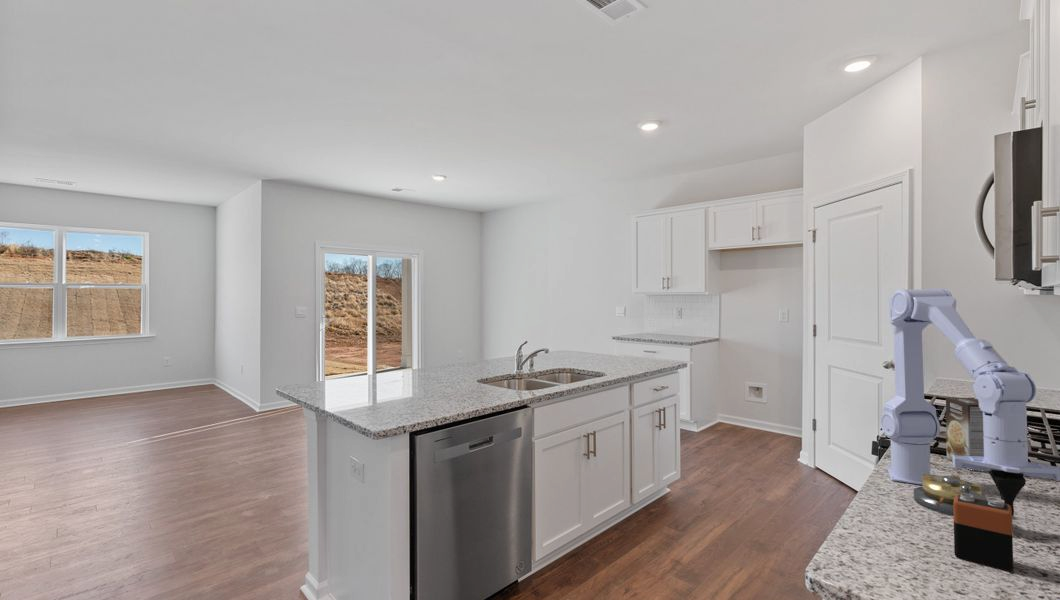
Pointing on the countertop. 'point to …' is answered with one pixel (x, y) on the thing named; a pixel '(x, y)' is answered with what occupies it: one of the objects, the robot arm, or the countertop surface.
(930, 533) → the countertop surface
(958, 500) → the battery
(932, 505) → the mounting plate
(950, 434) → the coffee box
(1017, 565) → the countertop surface
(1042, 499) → the countertop surface
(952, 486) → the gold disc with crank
